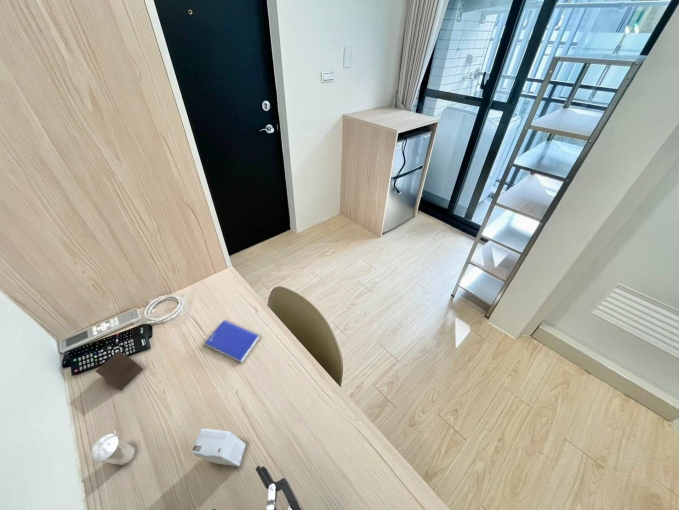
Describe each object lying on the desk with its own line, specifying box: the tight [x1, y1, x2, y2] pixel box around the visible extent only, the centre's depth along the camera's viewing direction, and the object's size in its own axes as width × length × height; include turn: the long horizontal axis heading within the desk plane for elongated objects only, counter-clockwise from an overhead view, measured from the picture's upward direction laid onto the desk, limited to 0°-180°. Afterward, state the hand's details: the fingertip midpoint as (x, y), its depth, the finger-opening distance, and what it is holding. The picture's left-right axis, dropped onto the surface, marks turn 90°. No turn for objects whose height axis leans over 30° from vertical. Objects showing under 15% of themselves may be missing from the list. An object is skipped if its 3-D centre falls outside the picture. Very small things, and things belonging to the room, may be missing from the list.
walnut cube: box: [95, 350, 144, 391], centre depth 69 cm, size 6×6×5 cm
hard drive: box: [204, 320, 260, 363], centre depth 77 cm, size 2×8×12 cm
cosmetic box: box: [191, 428, 247, 467], centre depth 55 cm, size 6×4×12 cm
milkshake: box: [89, 428, 136, 466], centre depth 55 cm, size 4×5×10 cm
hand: (236, 488), depth 47 cm, fingers open, 8 cm apart
